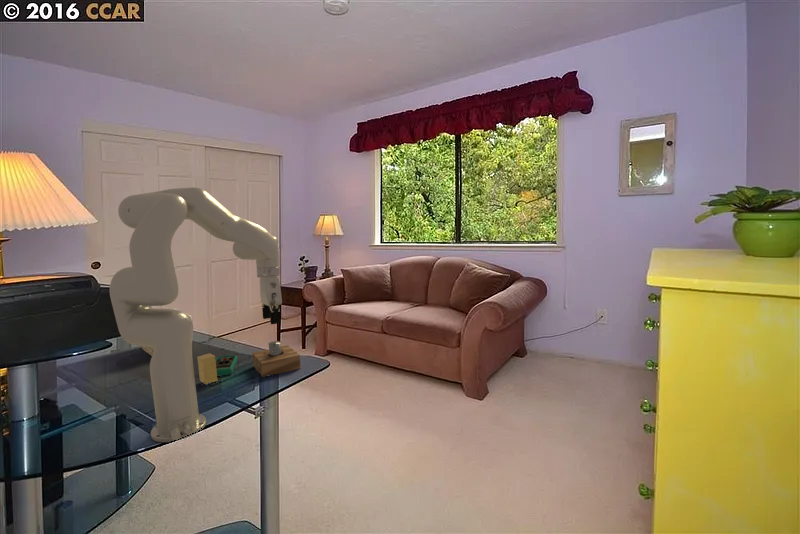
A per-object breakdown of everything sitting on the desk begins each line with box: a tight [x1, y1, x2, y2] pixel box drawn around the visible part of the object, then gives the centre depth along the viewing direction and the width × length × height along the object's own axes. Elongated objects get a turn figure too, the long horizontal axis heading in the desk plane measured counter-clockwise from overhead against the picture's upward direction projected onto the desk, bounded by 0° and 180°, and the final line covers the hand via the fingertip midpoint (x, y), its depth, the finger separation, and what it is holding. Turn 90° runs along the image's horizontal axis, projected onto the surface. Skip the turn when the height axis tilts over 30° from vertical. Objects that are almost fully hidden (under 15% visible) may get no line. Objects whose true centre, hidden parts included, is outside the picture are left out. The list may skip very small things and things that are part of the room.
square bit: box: [196, 353, 218, 384], centre depth 134 cm, size 4×4×9 cm
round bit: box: [268, 340, 282, 357], centre depth 145 cm, size 4×4×9 cm
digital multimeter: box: [215, 354, 238, 376], centre depth 146 cm, size 7×15×3 cm, turn 14°
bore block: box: [251, 344, 301, 378], centre depth 145 cm, size 13×13×5 cm
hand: (271, 320), depth 143 cm, fingers open, 9 cm apart
